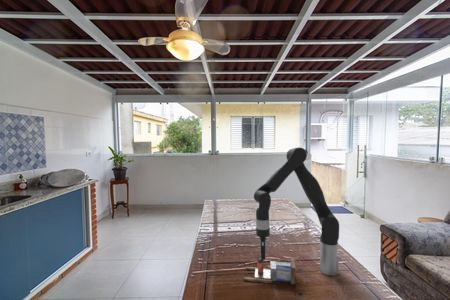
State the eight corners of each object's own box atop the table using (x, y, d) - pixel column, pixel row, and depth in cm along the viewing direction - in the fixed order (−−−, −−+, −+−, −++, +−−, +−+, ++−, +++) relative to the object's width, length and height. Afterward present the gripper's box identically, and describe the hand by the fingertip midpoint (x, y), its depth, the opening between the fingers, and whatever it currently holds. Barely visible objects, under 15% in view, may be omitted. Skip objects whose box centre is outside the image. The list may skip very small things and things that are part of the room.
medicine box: (276, 280, 130) (276, 265, 130) (275, 276, 135) (275, 261, 134) (291, 282, 129) (291, 266, 129) (290, 277, 133) (290, 262, 133)
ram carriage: (275, 272, 138) (275, 256, 138) (276, 281, 130) (276, 264, 129) (255, 270, 140) (255, 254, 140) (254, 279, 132) (254, 262, 131)
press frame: (293, 272, 138) (293, 257, 137) (295, 285, 126) (295, 268, 126) (246, 268, 143) (246, 253, 142) (244, 280, 131) (243, 264, 131)
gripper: (269, 232, 126) (270, 262, 126) (269, 222, 140) (270, 249, 140) (255, 231, 127) (256, 261, 128) (256, 222, 141) (257, 249, 142)
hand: (263, 255), depth 134 cm, fingers open, 8 cm apart
